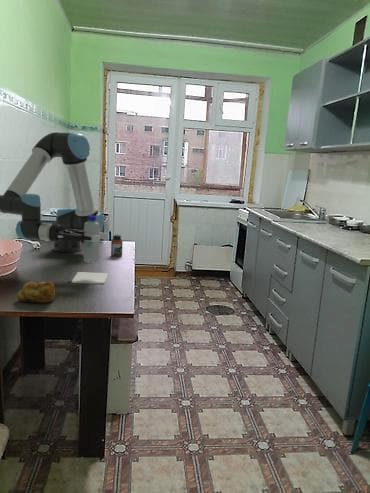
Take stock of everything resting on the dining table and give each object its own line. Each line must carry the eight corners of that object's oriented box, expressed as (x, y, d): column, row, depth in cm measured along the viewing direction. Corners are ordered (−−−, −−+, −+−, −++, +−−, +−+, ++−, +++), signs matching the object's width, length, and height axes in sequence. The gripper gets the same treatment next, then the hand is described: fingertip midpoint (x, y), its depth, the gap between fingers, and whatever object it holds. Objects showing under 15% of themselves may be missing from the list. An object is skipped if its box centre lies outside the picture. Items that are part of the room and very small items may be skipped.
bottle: (93, 264, 161) (94, 216, 157) (79, 262, 164) (80, 215, 160) (102, 261, 168) (103, 215, 164) (89, 259, 170) (89, 213, 166)
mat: (74, 273, 173) (74, 271, 172) (108, 274, 174) (108, 272, 174) (67, 282, 159) (67, 281, 159) (104, 283, 160) (104, 282, 160)
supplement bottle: (112, 254, 212) (112, 233, 210) (123, 254, 212) (123, 234, 210) (109, 256, 206) (110, 235, 204) (121, 257, 206) (121, 236, 204)
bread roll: (13, 305, 132) (13, 282, 131) (22, 295, 142) (22, 274, 140) (52, 305, 134) (52, 283, 132) (58, 296, 143) (58, 275, 141)
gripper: (63, 237, 177) (111, 242, 173) (40, 245, 158) (93, 250, 154) (63, 221, 175) (111, 225, 171) (39, 227, 156) (93, 232, 152)
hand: (102, 237), depth 163 cm, fingers closed on bottle, 6 cm apart
